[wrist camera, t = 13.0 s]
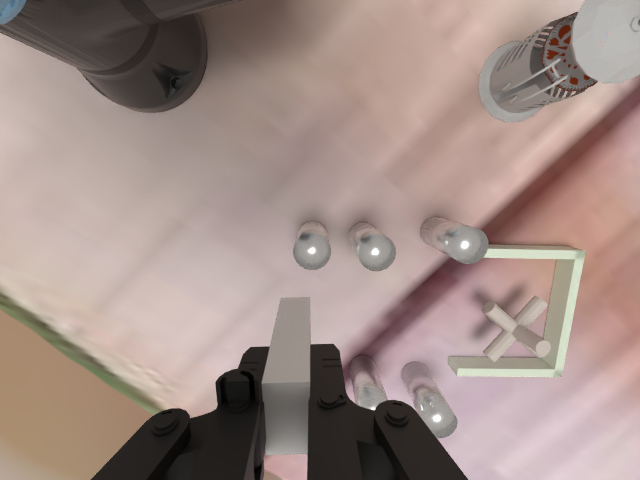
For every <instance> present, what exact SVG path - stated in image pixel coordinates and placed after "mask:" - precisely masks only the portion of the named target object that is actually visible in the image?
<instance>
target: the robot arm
mask: <svg viewBox="0 0 640 480" xmlns="http://www.w3.org/2000/svg"><path fill="white" fill-rule="evenodd" d="M237 1H241V0H0V33H2V34H5V35H7V36H9V37H11V38H13V39H15V40H18V41H20V42H22V43H24V44H26V45H29V46H31V47H33V48H35V49H37V50H39V51H42V52H44V53H46V54H48V55H50V56H53V57H55V58H57V59H59V60H61V61H63V62H66V63H68V64H70V65H72V66H74V67H76V68H77V69H78V70H79V71H80V72H81V73H82V74H83V76H84V77H85V78H86V80H87V81H88V82H89V83H90V84H91V85H92V86H93V87H94V88H95V89H96V90H97V91H98V92H100V93H101V94H102V95H104V96H105V97H107V98H108V99H110V100H112V101H113V102H115V103H118V104H120V105H122V106H125V107H127V108H130V109H133V110H136V111H141V112H162V111H166V110H169V109H172V108H174V107H176V106H178V105H180V104H181V103H183V102H184V101H185V100H187V99H188V98H189V97H190V96H191V95H192V94H193V92H194V91H195V90H196V88H197V87H198V85H199V83H200V82H201V79H202V77H203V74H204V71H205V67H206V61H207V43H206V37H205V33H204V29H203V26H202V24H201V21H200V19H199V17H198V15H197V12H201V11H204V10H208V9H212V8H215V7H219V6H223V5H226V4H230V3H233V2H237ZM216 392H217V402H218V406H217V408H216V410H214V411H212V412H210V413H207V414H204V415H201V416H197V417H194V418H190V415H189V414H188V413H187V411H185V410H182V409H168V410H164V411H161V412H159V413H157V414H156V415H154V416H152V417H151V418H150V419H149V420H148V421H146V422H145V423H144V425H142V427H141V428H140V429H139V430H138V431H137V432H136V433H135V434H134V435H133V436H132V437H131V438H130V439H129V440H128V441H127V442H126V443H125V444H124V446H122V448H121V449H120V450H119V451H118V452H117V453H116V454H115V455H114V456H113V457H112V458H111V459H110V460H109V461H108V462H107V463H106V464H105V465H104V466H103V468H102V469H101V470H100V471H99V472H98V473H97V474H96V475H95V476H94V477H93V478H92V479H91V480H263V475H264V460H263V457H264V451H265V446H266V455H286V454H308V469H307V480H468V479H467V477H466V476H465V475H464V474H463V472H462V471H461V470H460V468H459V467H458V466H457V464H456V463H455V462H454V460H453V459H452V458H451V456H450V455H449V454H448V453H447V451H446V450H445V449H444V447H443V446H442V445H441V443H440V442H439V441H438V439H437V438H436V437H435V435H434V434H433V433H432V431H431V430H430V429H429V428H428V426H427V425H426V424H425V422H424V421H423V420H422V418H421V417H420V416H419V414H418V413H417V412H416V411H415V410H414V409H413V408H412V407H411V406H410V405H408V404H406V403H404V402H401V401H396V400H386V401H384V402H381V403H379V404H378V406H377V407H376V408H375V410H372V409H367V408H364V407H361V406H359V405H357V404H355V403H354V402H352V401H351V400H350V399H349V397H348V395H347V393H346V389H345V383H344V377H343V371H342V364H341V358H340V352H339V350H338V349H337V347H336V346H335V345H334V344H312V345H311V324H310V297H301V298H281V300H280V304H279V309H278V313H277V318H276V322H275V326H274V331H273V335H272V340H271V344H270V347H250V348H249V349H248V350H247V351H246V352H245V353H244V354H243V356H242V359H241V362H240V364H239V367H238V369H233V370H231V371H228V372H226V373H224V374H223V375H221V376H220V377H219V378H218V380H217V381H216Z"/></svg>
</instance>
